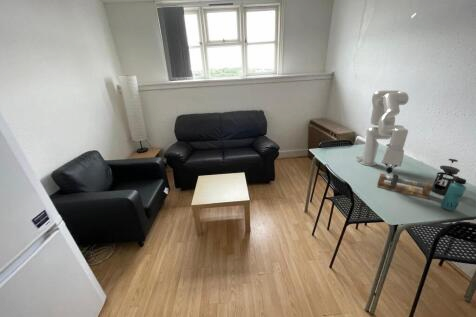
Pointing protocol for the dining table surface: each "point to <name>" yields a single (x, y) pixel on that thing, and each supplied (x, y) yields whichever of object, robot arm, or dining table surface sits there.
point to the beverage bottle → (454, 194)
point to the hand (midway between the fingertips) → (388, 172)
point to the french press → (444, 184)
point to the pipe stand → (405, 189)
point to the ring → (394, 179)
